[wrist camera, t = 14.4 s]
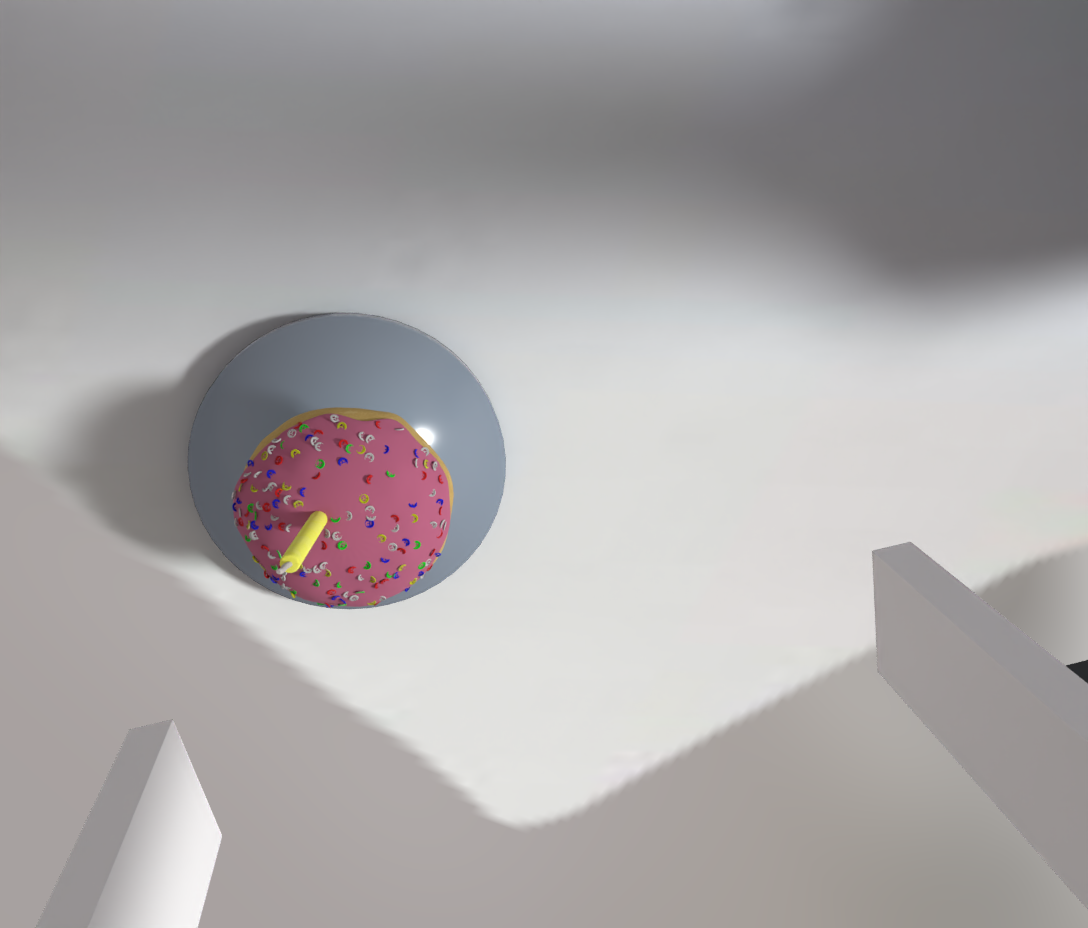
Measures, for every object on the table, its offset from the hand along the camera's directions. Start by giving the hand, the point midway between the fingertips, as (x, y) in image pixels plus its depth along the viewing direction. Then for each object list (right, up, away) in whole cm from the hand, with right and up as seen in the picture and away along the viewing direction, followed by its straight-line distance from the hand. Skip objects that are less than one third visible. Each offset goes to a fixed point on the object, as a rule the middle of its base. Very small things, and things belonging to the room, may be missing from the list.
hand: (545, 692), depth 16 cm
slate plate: (-9, +4, +24) cm, 26 cm away
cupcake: (-9, +4, +23) cm, 25 cm away
